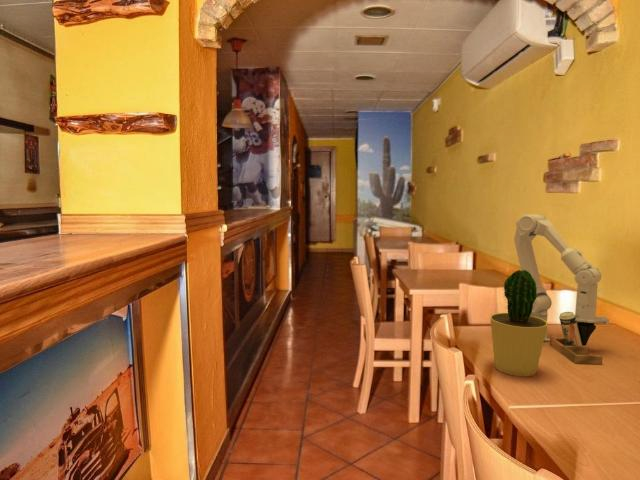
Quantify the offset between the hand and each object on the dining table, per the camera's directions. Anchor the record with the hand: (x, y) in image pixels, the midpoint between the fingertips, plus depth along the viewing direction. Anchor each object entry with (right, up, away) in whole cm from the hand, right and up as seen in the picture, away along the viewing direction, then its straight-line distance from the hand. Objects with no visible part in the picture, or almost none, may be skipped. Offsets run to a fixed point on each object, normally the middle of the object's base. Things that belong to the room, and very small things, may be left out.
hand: (582, 344), depth 153 cm
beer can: (-3, -1, 0) cm, 3 cm away
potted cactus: (-29, -4, -17) cm, 34 cm away
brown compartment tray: (-5, -2, -4) cm, 6 cm away
